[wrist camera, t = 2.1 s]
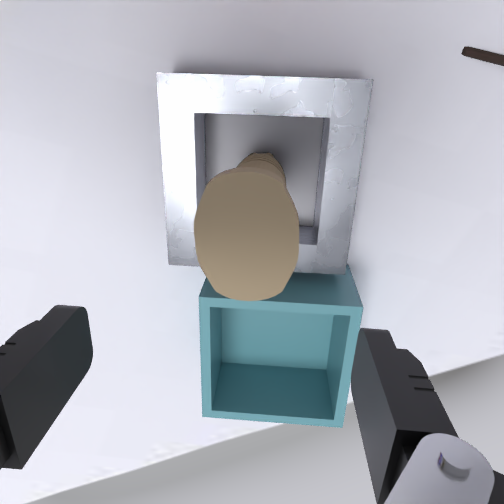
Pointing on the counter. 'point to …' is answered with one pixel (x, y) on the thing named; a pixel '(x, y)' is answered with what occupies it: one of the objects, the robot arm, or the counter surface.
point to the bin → (281, 351)
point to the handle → (248, 230)
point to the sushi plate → (483, 55)
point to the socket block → (274, 104)
